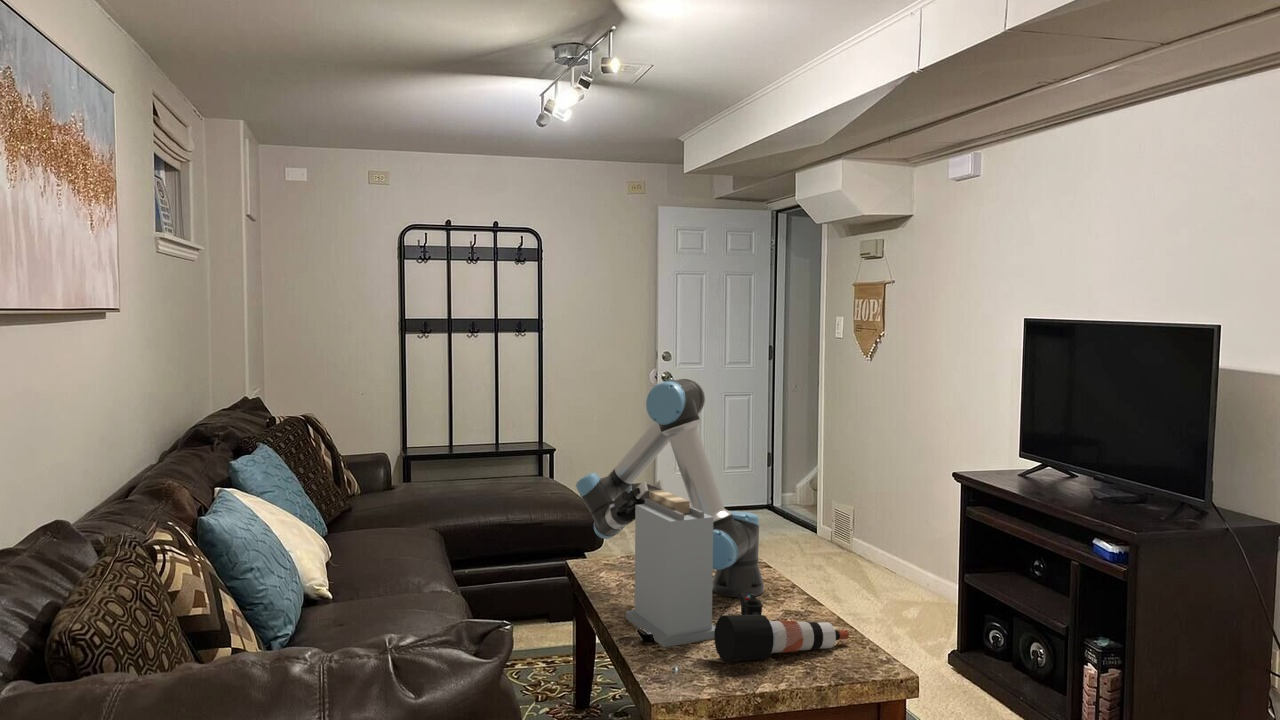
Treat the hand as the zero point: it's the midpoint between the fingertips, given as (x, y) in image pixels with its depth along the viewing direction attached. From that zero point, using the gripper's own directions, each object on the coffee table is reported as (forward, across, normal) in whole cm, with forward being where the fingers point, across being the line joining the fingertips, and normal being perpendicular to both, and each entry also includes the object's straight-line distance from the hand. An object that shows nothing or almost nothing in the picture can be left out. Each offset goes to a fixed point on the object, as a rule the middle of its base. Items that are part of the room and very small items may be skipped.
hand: (653, 485), depth 232 cm
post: (-8, 0, -36) cm, 37 cm away
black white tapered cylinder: (+15, -17, -49) cm, 54 cm away
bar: (+1, 0, -5) cm, 5 cm away
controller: (-1, -18, -40) cm, 44 cm away
